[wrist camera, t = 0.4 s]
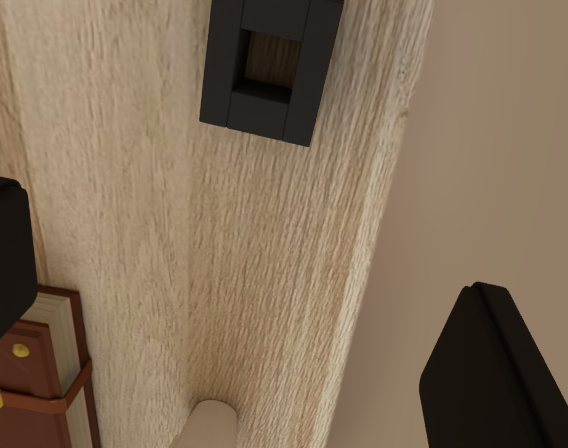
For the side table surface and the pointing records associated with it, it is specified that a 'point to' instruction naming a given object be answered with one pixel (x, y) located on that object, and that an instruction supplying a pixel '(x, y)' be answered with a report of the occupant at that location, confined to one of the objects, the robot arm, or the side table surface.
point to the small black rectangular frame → (260, 95)
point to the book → (47, 377)
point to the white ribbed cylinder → (209, 427)
